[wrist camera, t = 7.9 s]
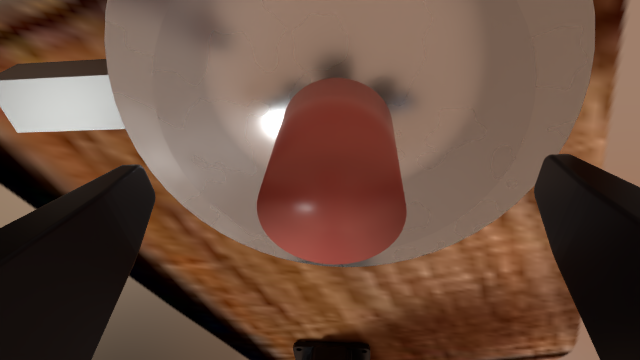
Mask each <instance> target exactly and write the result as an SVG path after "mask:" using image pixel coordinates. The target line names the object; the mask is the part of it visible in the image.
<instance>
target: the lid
mask: <svg viewBox="0 0 640 360" xmlns="http://www.w3.org/2000/svg"><path fill="white" fill-rule="evenodd" d="M105 51H106V60H107V69H108V76H109V80H110V84H111V88H112V92H113V96H114V100H115V103H116V106H117V108H118V111H119V114H120V116H121V119H122V121H123V124H124V127H125V129H126V131H127V133H128V134H129V136H130V138H131V140H132V142H133V144H134V146H135V148H136V150H137V151H138V153H139V154H140V156H141V157H142V159H143V160H144V162H145V163H146V165H147V166H148V168H149V169H150V170H151V172H152V173H153V174H154V175H155V177H156V178H157V179H158V180H159V181H160V182H161V184H162V185H163V186H164V187H165V188H166V190H167V191H168V192H169V193H171V194H172V195H173V196H174V197H175V198H176V199H177V200H178V201H179V202H180V203H181V204H182V205H183V206H184V207H185V208H187V209H188V210H189V211H190V212H192V213H193V214H194V215H195V216H197V217H198V218H199V219H200V220H202V221H203V222H205V223H206V224H208V225H209V226H211V227H213V228H214V229H216V230H217V231H219V232H220V233H222V234H224V235H226V236H228V237H230V238H231V239H233V240H235V241H237V242H239V243H241V244H244V245H246V246H248V247H251V248H253V249H256V250H258V251H260V252H263V253H267V254H270V255H273V256H276V257H279V258H283V259H287V260H292V261H296V262H301V263H306V264H314V265H321V266H336V267H360V266H374V265H382V264H390V263H395V262H399V261H404V260H409V259H413V258H416V257H420V256H423V255H426V254H430V253H433V252H435V251H438V250H440V249H443V248H445V247H448V246H450V245H453V244H455V243H457V242H459V241H461V240H463V239H465V238H467V237H468V236H470V235H472V234H474V233H476V232H478V231H479V230H481V229H482V228H484V227H485V226H487V225H488V224H490V223H492V222H493V221H495V220H496V219H497V218H499V217H500V216H501V215H502V214H504V213H505V212H506V211H507V210H509V209H510V208H511V207H512V206H514V205H515V204H516V203H517V202H518V201H519V200H520V199H521V198H522V197H523V196H524V195H525V194H526V193H527V192H528V191H529V190H530V189H531V188H532V187H533V186H534V185H535V183H536V180H537V178H538V175H539V172H540V169H541V166H542V163H543V161H544V159H545V158H546V156H548V155H551V154H558V153H559V152H560V150H561V149H562V147H563V145H564V144H565V142H566V141H567V139H568V137H569V135H570V133H571V131H572V128H573V126H574V124H575V122H576V120H577V118H578V115H579V113H580V111H581V108H582V104H583V101H584V98H585V95H586V91H587V88H588V85H589V82H590V76H591V69H592V63H593V57H594V51H595V10H594V4H593V0H107V6H106V12H105Z"/></svg>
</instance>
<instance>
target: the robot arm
mask: <svg viewBox="0 0 640 360" xmlns="http://www.w3.org/2000/svg"><path fill="white" fill-rule="evenodd" d="M534 194H535V198H536V202H537V205H538V208H539V211H540V214H541V218H542V221H543V224H544V227H545V231H546V234H547V237H548V240H549V244H550V247H551V250H552V252H553V255H554V258H555V260H556V263H557V265H558V267H559V270H560V272H561V274H562V276H563V278H564V281H565V283H566V285H567V287H568V290H569V292H570V294H571V296H572V298H573V301H574V303H575V305H576V307H577V309H578V312H579V314H580V316H581V318H582V321H583V323H584V325H585V327H586V329H587V331H588V334H589V336H590V338H591V340H592V343H593V345H594V347H595V349H596V351H597V354H598V356H599V358H600V360H640V187H638V186H636V185H634V184H632V183H629V182H627V181H625V180H623V179H621V178H619V177H617V176H615V175H613V174H610V173H608V172H606V171H604V170H602V169H600V168H598V167H596V166H594V165H591V164H589V163H587V162H585V161H583V160H581V159H579V158H577V157H575V156H572V155H570V154H551V155H548V156H546V158H545V159H544V161H543V163H542V166H541V169H540V172H539V175H538V178H537V180H536V183H535V188H534ZM154 203H155V192H154V189H153V187H152V185H151V183H150V180H149V178H148V176H147V174H146V172H145V170H144V168H143V167H142V166H140V165H122V166H120V167H118V168H116V169H114V170H112V171H110V172H108V173H106V174H104V175H102V176H100V177H98V178H96V179H95V180H93V181H91V182H89V183H87V184H85V185H83V186H81V187H79V188H77V189H75V190H73V191H71V192H69V193H67V194H66V195H64V196H62V197H60V198H58V199H56V200H54V201H52V202H50V203H48V204H46V205H44V206H42V207H40V208H38V209H36V210H35V211H33V212H31V213H29V214H27V215H25V216H23V217H21V218H19V219H17V220H15V221H13V222H11V223H10V224H7V225H5V226H4V227H2V228H0V360H91V359H92V357H93V355H94V352H95V350H96V348H97V346H98V344H99V341H100V339H101V336H102V335H103V332H104V330H105V328H106V326H107V323H108V321H109V319H110V317H111V314H112V312H113V310H114V307H115V305H116V303H117V301H118V299H119V296H120V294H121V292H122V290H123V287H124V285H125V283H126V280H127V278H128V276H129V274H130V272H131V269H132V267H133V265H134V262H135V260H136V258H137V255H138V252H139V249H140V247H141V244H142V240H143V237H144V234H145V231H146V228H147V225H148V222H149V218H150V215H151V212H152V209H153V206H154ZM293 351H294V355H295V359H296V360H370V346H369V345H367V344H352V343H316V342H296V343H294V347H293Z"/></svg>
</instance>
